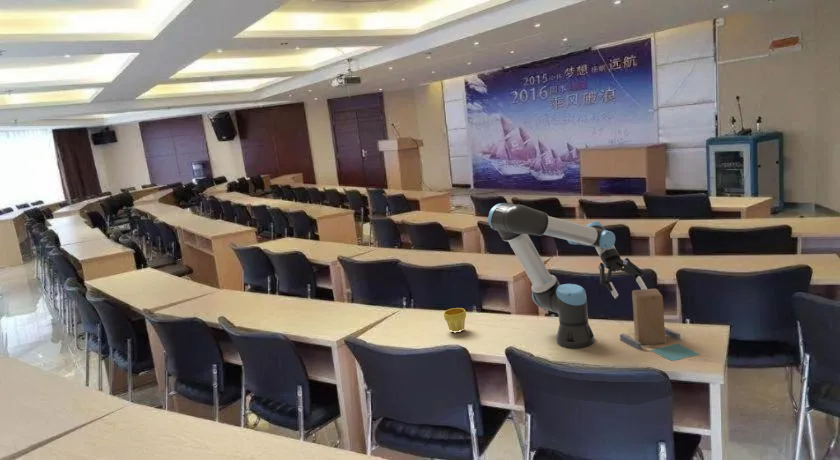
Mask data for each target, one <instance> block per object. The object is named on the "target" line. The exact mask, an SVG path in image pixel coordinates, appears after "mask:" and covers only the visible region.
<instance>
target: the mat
mask: <svg viewBox="0 0 840 460" xmlns="http://www.w3.org/2000/svg"><path fill="white" fill-rule="evenodd" d="M650 351H651V352H653V353H655V354H657V355H659V356H661V357H663V358H664V359H667V360H669V361H671V362H674V361H678V360H682V359H686V358H689V357H690V358H691V357H693V356H698V355H700V353H699V352H697V351H694V350H692V349H690V348H688V347H686V346H683V345H681V344H679V343H674V344H673V343H672V344H670V345H665V346H661V347H657V348H653V349H650Z"/></svg>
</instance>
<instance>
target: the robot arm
mask: <svg viewBox="0 0 840 460" xmlns="http://www.w3.org/2000/svg"><path fill="white" fill-rule="evenodd" d="M487 223H488V225H489V227H490V228H491V229H492V230H493V231H496V232H498V234H499V236H500V237H501V240H502V241H504V242H508V244H509V245H510V248H511V249H512V251H513V252H514V254H515V257H516V258H517V259H518V261H519V264H520V265H521V267H522V269H523V270H524V272H525V273H526V276H528V279H529V280H530V282H531V284H532V285H531V287H530V288H531V292H532V293H531V299H532V301H533V303H535V304H536V306H538V307H540V308H541V309H543V310H547V311H548V312H549V311H550V312H553V313H556V314H558V322H559V323H558V324H559V325H558V329H557V333H556V343H557V344H558V345H559V346H561V347H564V348H569V349H582V348H587V347H590V346H591V345H593V344H594V343H595V335H594V332H593V331H592V328H591V326H590V324H589V323H590V322H589V314H588V300H587V299H588V298H587V293H586V290H585V288H583V286H581V285H579V284H575V283H564V284H560V282H559V280H558V278H557V277H556V276H555V275H553V274H550V272H549V270H548V268H547V266H546V264H545V263H544V261H543V259H542V257H541V255H540V254H539V251H538V250H537V248H536V247H535V244H534V242H533V241H532V239H531V238H530V236H531V235H532V236H538V237H541V236H549V237H554V238H557V239H562V240H565V241H567V243H568V244H570V245H582V246H587V247H594V249H595V250H596V252H597V254H598V256H599V258H600V259H601V261H602V262H600V263H599V265H598V269H599V285H600V286H602V285H603V287H606V288H607V291H609V292H610V293H611V295H612V297H613V298H614V300H615V299H617V298H618V297H619V293H618V291H617V289H616V288H615V286H614V284H613V282H612V281H610V280H611V277H612V273H615V272H620V271H621V272H624V273H626V274H628V275H630V276H632V277H633V278H635V282H636V283H637V284H638V286H639V288H640V290H643V289H648V287H647V286H646V284H645V282H646V281H645V280H644V278H643V276H644V274H645V271H643V270H642V269H641V268H639V266H637V265H636V264H634V263H633V262H632V261H631V260H630V258H628V257H626V258H625V259H622V258H621V255H620V254H619V252H618V249H616V247H615V244H616V243H615V242H616V235H615V233H614V232H613V231H610V230H607V229H605V227H604V226H603V224H602V223H601V222H600V221H598V220H596V221H593V222H590V223H588V224H587V225H585V224H580V223H577V222H572V221H569V220H565V219H561V218H557V217H553V216H550V215H548V214H547V213H546V212H545V211H541V210H538V209H534V208H532V207H528V206H526V205H523V204H517V203H516V204H514V203H508V202H502V203H497V204H495V205H494V206H492V208H490V211H489V213H488V217H487ZM605 268H606V269H607V273H606V274H605V271H606V270H605ZM605 275H606V277H605Z"/></svg>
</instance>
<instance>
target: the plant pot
mask: <svg viewBox="0 0 840 460" xmlns="http://www.w3.org/2000/svg"><path fill="white" fill-rule="evenodd" d="M443 317H444V320H445V322H446V324H447V326H448V329H449V331H450V330H452V331H459V330H462V329H464V330H465V322H466V318H467V313H466V310H465V309H464V308H462V307H456V308H455V307H454V308H449V309H446V310H445V311H444V312H443Z"/></svg>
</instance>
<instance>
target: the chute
mask: <svg viewBox="0 0 840 460" xmlns="http://www.w3.org/2000/svg"><path fill="white" fill-rule="evenodd" d="M664 327H665V337H668V338H671V339H674V340H676V341H681V340H682V339H681V338H682V337H681V333H679V332H677V331H675V330H673V329H671V328H668V327H666V326H664ZM619 340H620V341H621V342H623V343H625V344H626V345H628V346H630V347H632V348H634V349H636V350H638V351H640V350H643V349H642V347H643V344H642V343H640V342H638V340H637V339H636V338H635V339H634V338H632V337H631V336H629V335H626V334H625V333H620V334H619Z"/></svg>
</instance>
